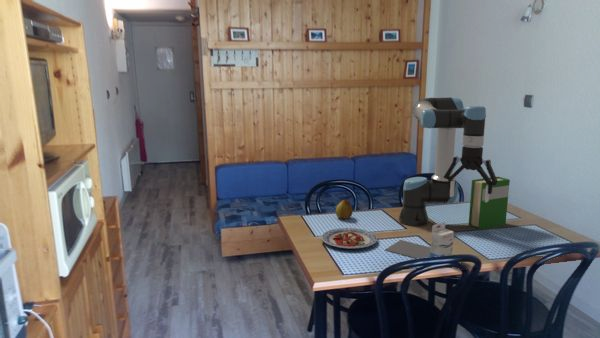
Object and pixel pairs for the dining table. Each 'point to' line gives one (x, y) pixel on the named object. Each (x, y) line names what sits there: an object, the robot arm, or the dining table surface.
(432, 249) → the ink box
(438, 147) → the robot arm
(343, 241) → the ceramic plate
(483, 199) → the hardback book
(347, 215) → the fruit
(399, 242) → the mat
